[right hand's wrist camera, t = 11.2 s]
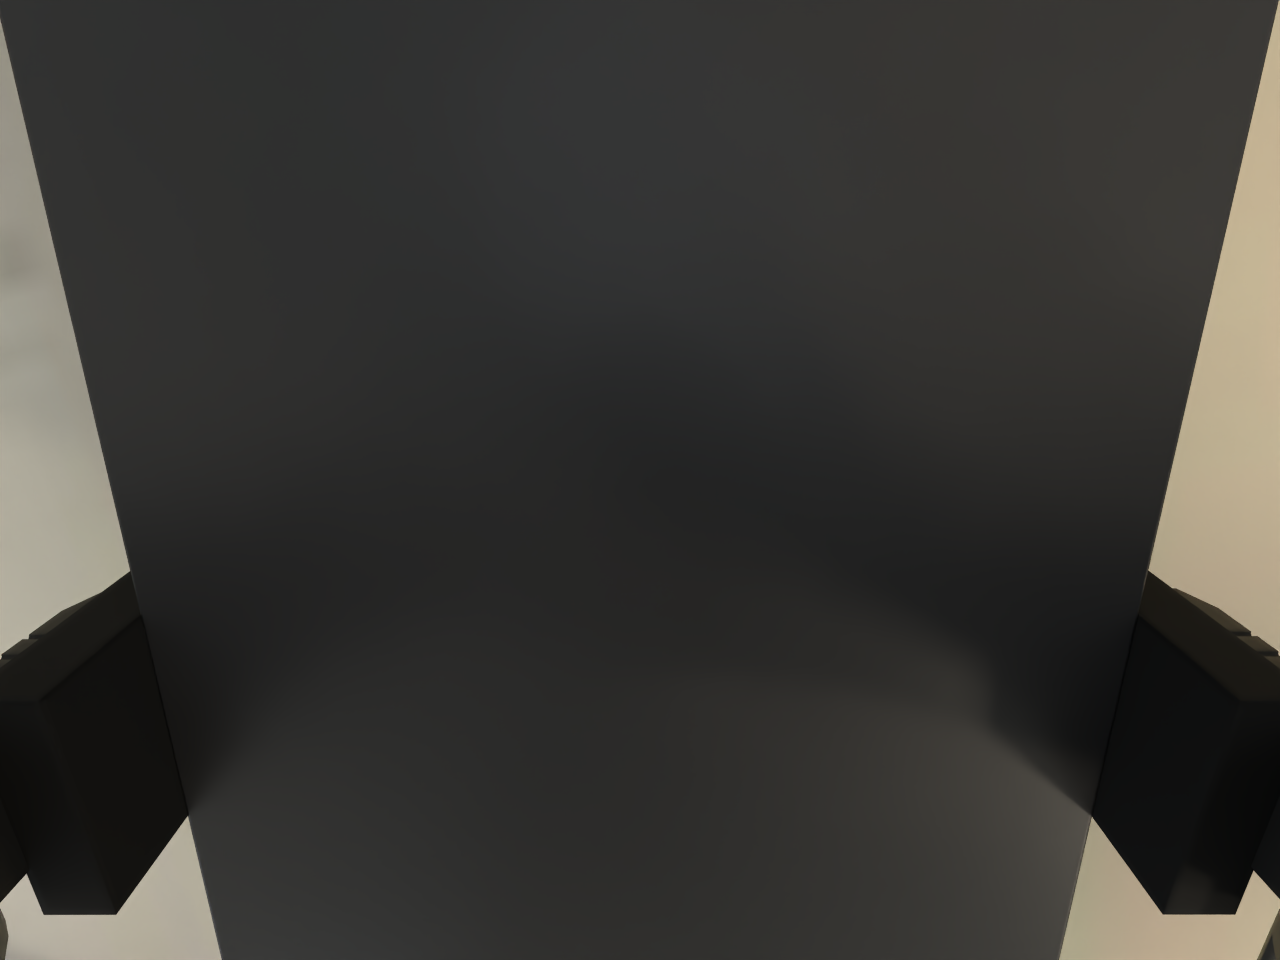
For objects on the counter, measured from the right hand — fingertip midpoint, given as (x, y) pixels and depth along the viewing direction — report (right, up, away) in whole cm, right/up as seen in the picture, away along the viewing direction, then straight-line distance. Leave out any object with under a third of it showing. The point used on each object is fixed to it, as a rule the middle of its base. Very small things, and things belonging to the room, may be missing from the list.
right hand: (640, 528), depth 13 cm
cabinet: (0, +4, +2) cm, 4 cm away
